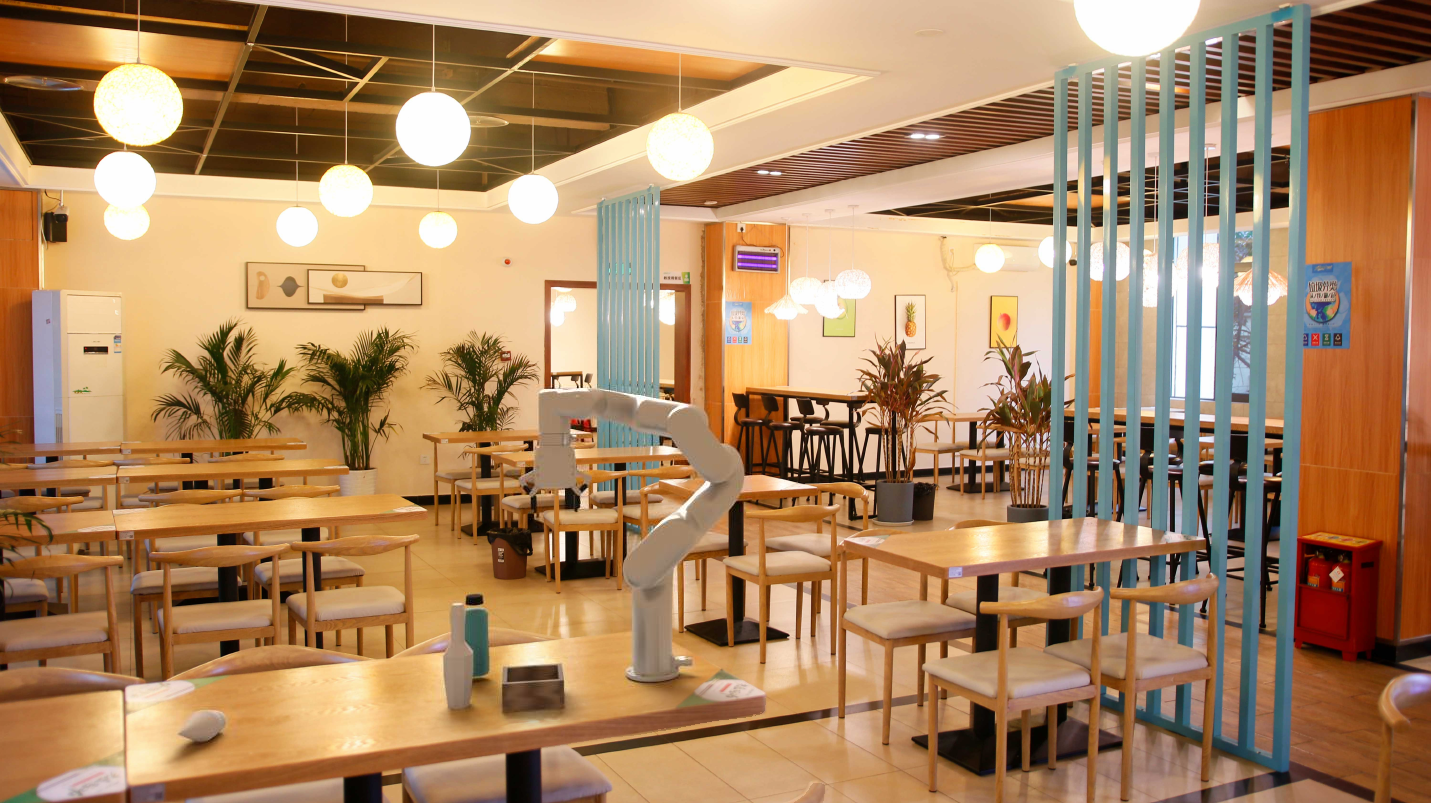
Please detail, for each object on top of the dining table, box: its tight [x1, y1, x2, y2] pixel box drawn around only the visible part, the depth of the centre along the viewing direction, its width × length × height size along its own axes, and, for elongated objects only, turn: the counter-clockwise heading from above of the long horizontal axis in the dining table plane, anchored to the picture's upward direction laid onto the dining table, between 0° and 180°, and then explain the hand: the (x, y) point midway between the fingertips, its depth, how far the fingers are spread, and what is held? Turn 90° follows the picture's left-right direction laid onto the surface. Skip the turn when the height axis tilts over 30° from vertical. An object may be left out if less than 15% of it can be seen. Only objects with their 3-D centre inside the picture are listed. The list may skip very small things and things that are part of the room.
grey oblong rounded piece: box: [177, 709, 227, 743], centre depth 198 cm, size 6×6×15 cm
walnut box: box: [501, 662, 565, 713], centre depth 223 cm, size 13×13×6 cm
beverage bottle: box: [465, 593, 491, 678], centre depth 238 cm, size 6×7×20 cm
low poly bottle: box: [442, 602, 474, 710], centre depth 220 cm, size 6×6×22 cm
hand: (555, 512), depth 244 cm, fingers open, 9 cm apart
